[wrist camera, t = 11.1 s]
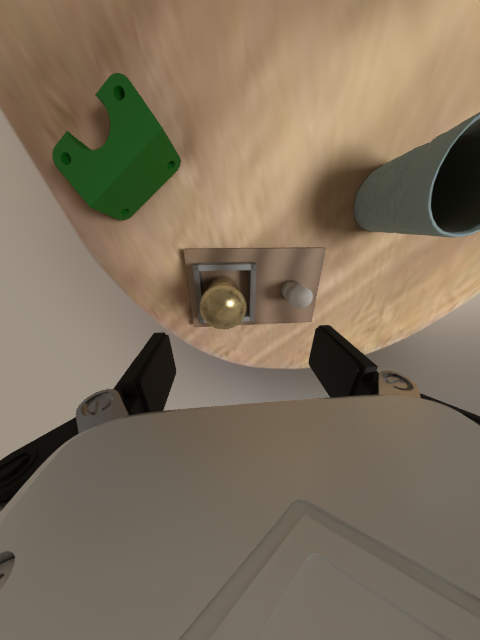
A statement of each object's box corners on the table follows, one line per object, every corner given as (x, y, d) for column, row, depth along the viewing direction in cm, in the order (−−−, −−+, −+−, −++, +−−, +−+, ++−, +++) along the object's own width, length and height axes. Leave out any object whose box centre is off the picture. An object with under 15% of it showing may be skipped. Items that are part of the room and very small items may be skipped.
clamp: (155, 150, 25) (135, 59, 16) (182, 188, 26) (177, 121, 17) (76, 188, 22) (2, 105, 14) (109, 228, 23) (60, 174, 15)
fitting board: (320, 247, 29) (346, 250, 23) (307, 318, 34) (325, 335, 28) (185, 248, 27) (175, 251, 21) (194, 323, 32) (189, 342, 27)
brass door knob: (240, 272, 28) (246, 285, 20) (241, 306, 30) (246, 328, 23) (204, 273, 27) (197, 286, 20) (207, 307, 30) (202, 330, 23)
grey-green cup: (418, 209, 27) (545, 190, 17) (359, 251, 29) (439, 258, 19) (403, 138, 23) (557, 55, 13) (336, 192, 25) (420, 160, 15)
